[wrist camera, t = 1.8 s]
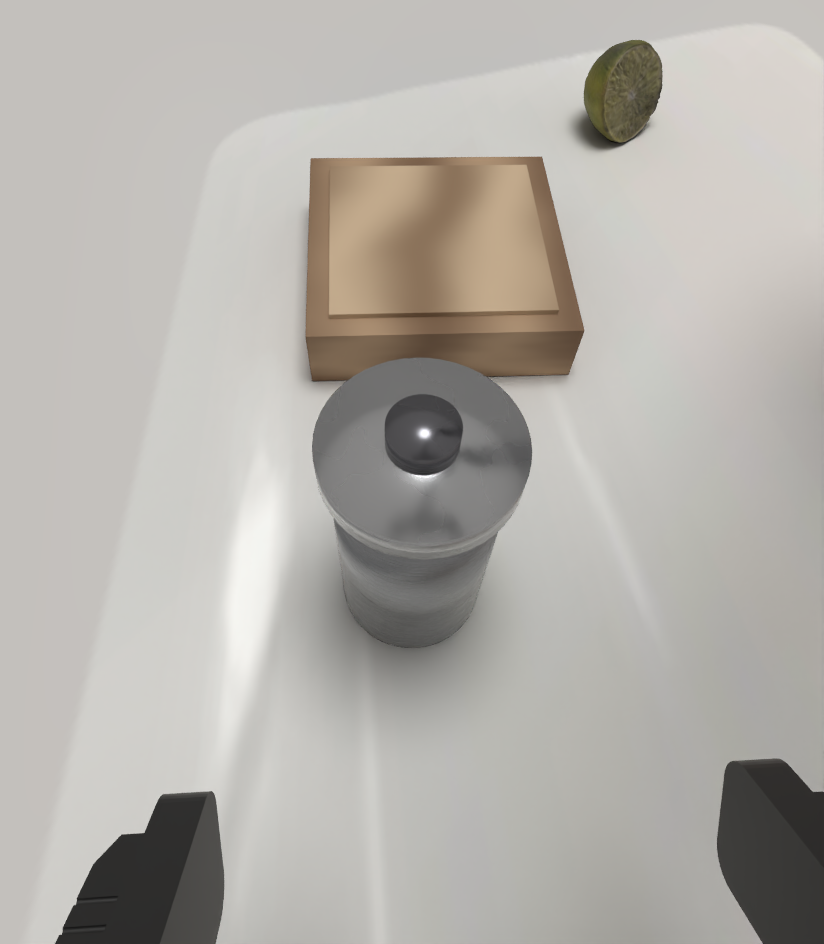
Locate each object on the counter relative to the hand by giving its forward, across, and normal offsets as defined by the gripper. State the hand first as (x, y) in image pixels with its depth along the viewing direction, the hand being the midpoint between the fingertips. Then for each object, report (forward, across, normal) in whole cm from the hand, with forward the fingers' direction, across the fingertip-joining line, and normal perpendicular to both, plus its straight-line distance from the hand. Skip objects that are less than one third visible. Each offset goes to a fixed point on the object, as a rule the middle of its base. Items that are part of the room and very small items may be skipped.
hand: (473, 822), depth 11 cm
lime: (+36, -14, -17) cm, 43 cm away
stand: (+27, -2, -8) cm, 28 cm away
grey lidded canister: (+16, 0, +3) cm, 16 cm away
